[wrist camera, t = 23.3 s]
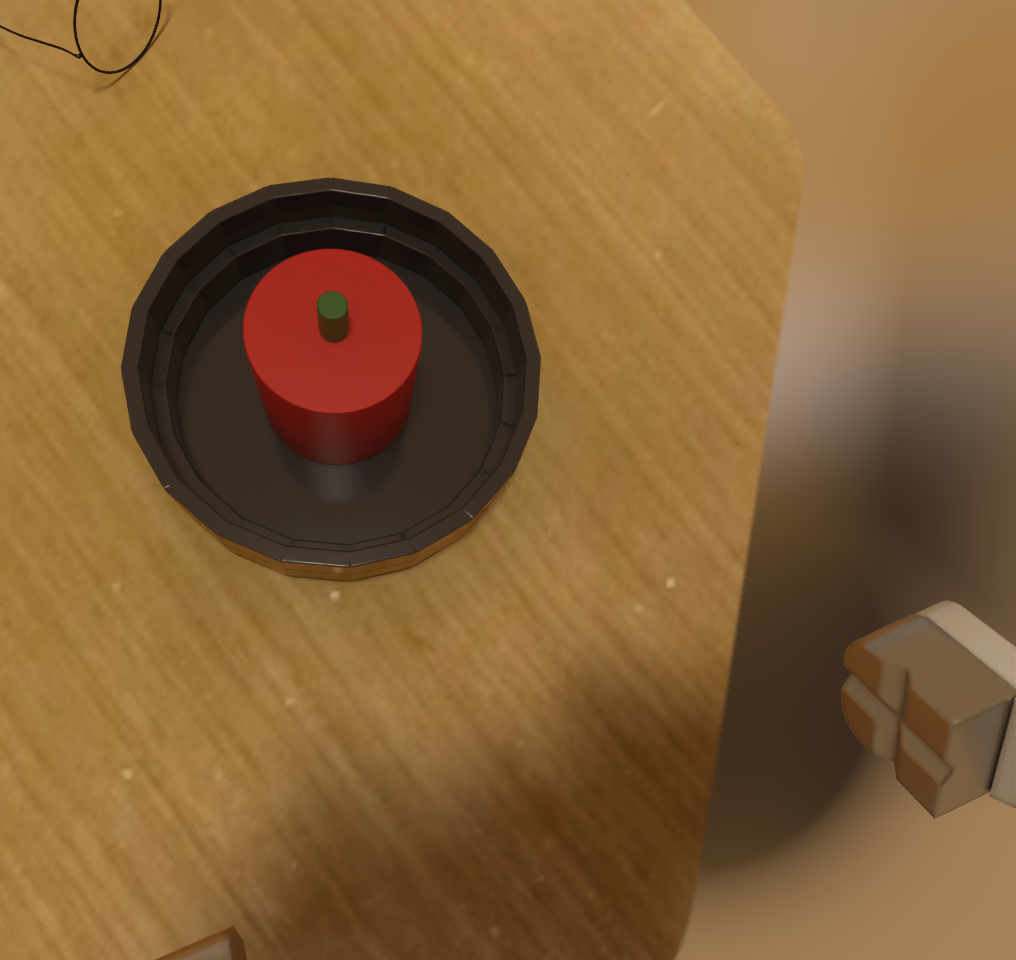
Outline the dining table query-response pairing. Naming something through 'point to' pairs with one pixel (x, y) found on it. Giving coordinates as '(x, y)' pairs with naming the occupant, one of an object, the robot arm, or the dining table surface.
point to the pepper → (334, 353)
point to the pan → (240, 412)
